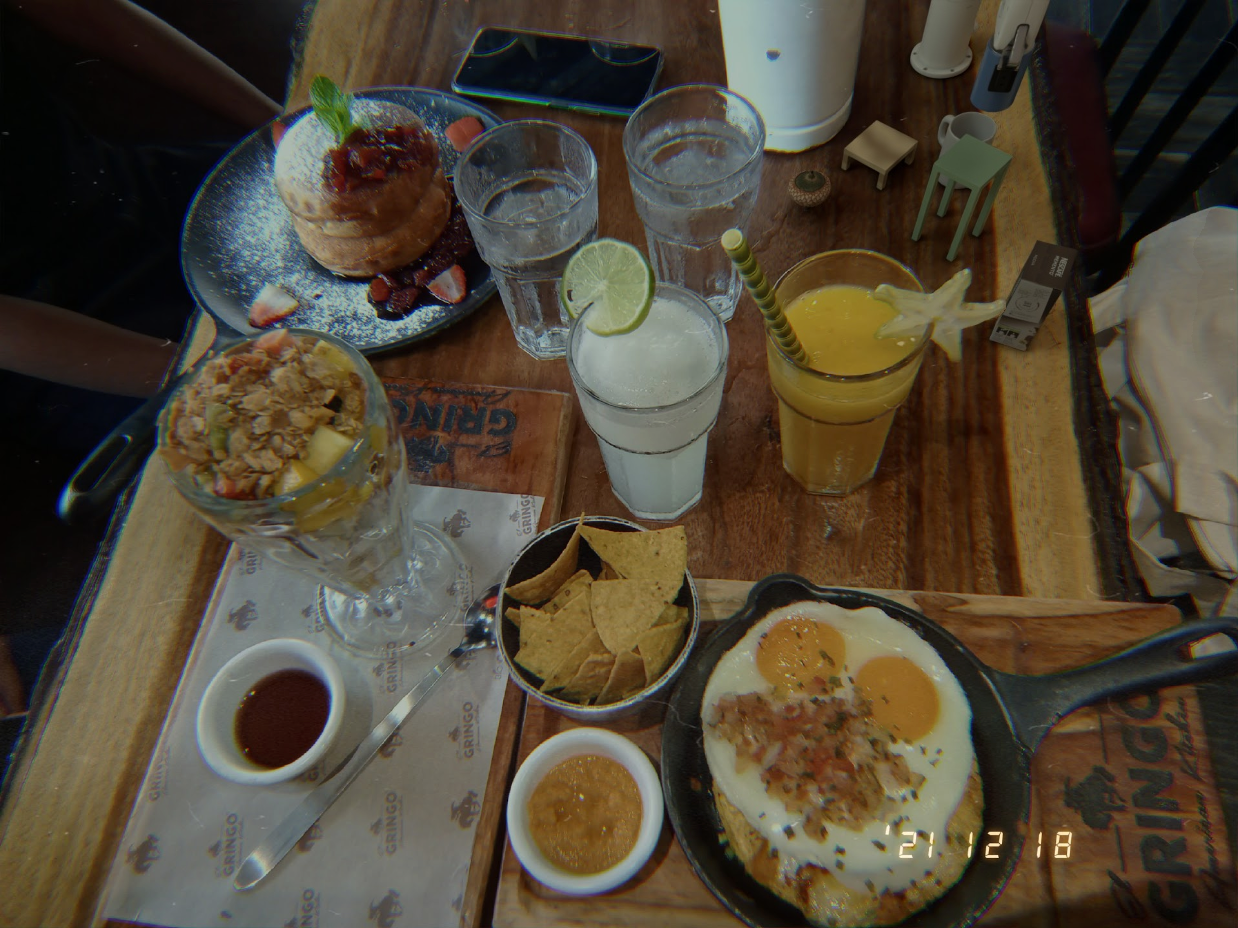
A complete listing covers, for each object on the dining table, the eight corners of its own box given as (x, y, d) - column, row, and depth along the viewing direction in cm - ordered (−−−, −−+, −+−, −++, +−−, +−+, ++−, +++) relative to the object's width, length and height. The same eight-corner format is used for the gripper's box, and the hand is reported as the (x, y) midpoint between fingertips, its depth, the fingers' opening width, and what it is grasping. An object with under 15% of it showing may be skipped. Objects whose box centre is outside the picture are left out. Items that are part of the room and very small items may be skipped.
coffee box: (1026, 352, 126) (1063, 292, 112) (987, 340, 128) (1019, 279, 114) (1042, 313, 129) (1080, 249, 114) (1004, 301, 131) (1037, 237, 117)
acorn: (797, 231, 145) (801, 192, 136) (778, 204, 148) (781, 164, 140) (835, 215, 145) (842, 176, 136) (815, 189, 149) (820, 149, 140)
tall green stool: (940, 211, 142) (966, 133, 126) (981, 233, 138) (1013, 156, 122) (911, 238, 140) (933, 163, 124) (951, 262, 136) (980, 187, 120)
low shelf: (872, 140, 152) (876, 120, 148) (912, 161, 148) (918, 141, 144) (841, 168, 150) (844, 148, 146) (881, 190, 146) (885, 170, 142)
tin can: (986, 78, 115) (1005, 22, 107) (1023, 95, 113) (1045, 38, 105) (961, 101, 114) (978, 46, 106) (997, 118, 112) (1018, 63, 103)
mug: (989, 178, 144) (1007, 131, 134) (951, 195, 143) (967, 150, 133) (952, 142, 149) (967, 94, 139) (915, 158, 149) (928, 112, 139)
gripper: (1019, -92, 98) (979, 35, 114) (1008, -9, 91) (968, 113, 108) (1080, -91, 96) (1031, 37, 112) (1074, -7, 90) (1023, 117, 106)
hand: (1000, 73), depth 110 cm, fingers closed on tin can, 6 cm apart
